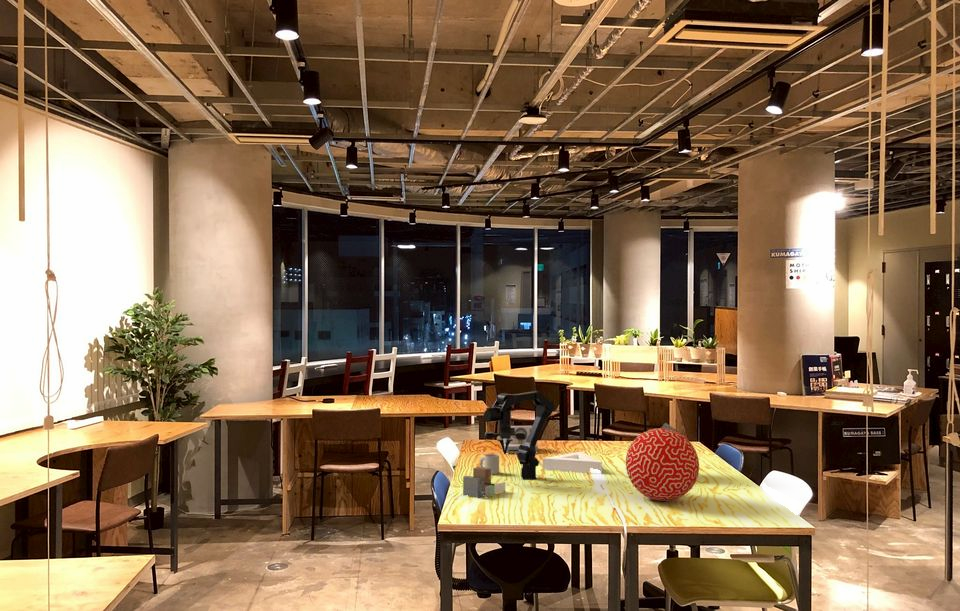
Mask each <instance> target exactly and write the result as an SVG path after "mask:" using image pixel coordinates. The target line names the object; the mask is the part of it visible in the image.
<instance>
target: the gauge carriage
mask: <svg viewBox="0 0 960 611" xmlns="http://www.w3.org/2000/svg"><path fill="white" fill-rule="evenodd" d="M472 474H473V475H472V477H478V478H481V490H483V491H485V487H487V486H490V485H493V486H494V485H495V484H496V483H492V475H491V468H488V467H485V466H483V467H481V466H480V465H479V466H477V467H473V472H472Z"/></svg>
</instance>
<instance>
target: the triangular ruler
mask: <svg viewBox="0 0 960 611" xmlns="http://www.w3.org/2000/svg"><path fill="white" fill-rule="evenodd" d="M602 464H603V462H602V461H600V460H598V459H596V458H595V457H593V456H591V455H589V454H587V453H585V452H583V451H576V452H571V453H565V454H560V455H555V456H549V457H543V458H542V470H543V469H547V470H546V471H553V470H560V471H559V472H567V471H572V472H571V473H582V474H583V473H584V474H590V473H589V471H590V468H593V469H598V470H600V471H601V472H602V469H603V465H602ZM602 473H603V472H602Z"/></svg>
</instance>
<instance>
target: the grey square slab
mask: <svg viewBox="0 0 960 611" xmlns="http://www.w3.org/2000/svg"><path fill="white" fill-rule="evenodd" d="M462 485H463V486H462V487H463V488H462V496H465V495H468V496H467V497H471V496H473V497H472V498H476V497H479V498H481V497H480V496H481V478H478V477H473V475H464V476H463V477H462Z"/></svg>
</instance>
